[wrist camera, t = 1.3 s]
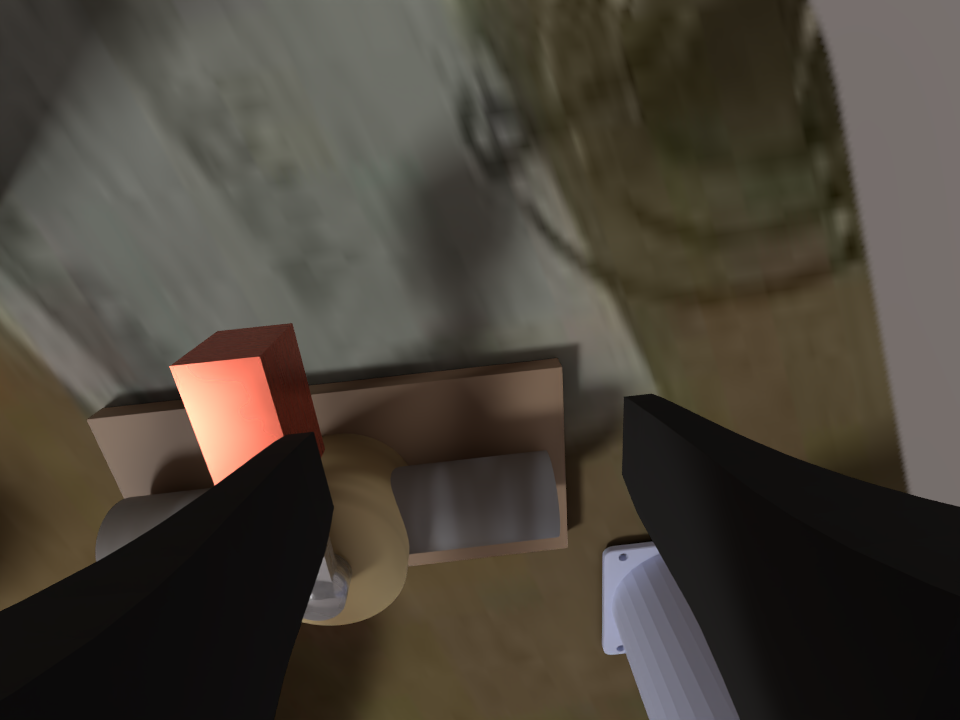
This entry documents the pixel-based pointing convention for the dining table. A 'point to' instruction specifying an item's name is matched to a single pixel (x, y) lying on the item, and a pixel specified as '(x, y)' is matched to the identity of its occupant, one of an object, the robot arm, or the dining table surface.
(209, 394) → the valve lever
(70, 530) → the dining table surface
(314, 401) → the valve stand
